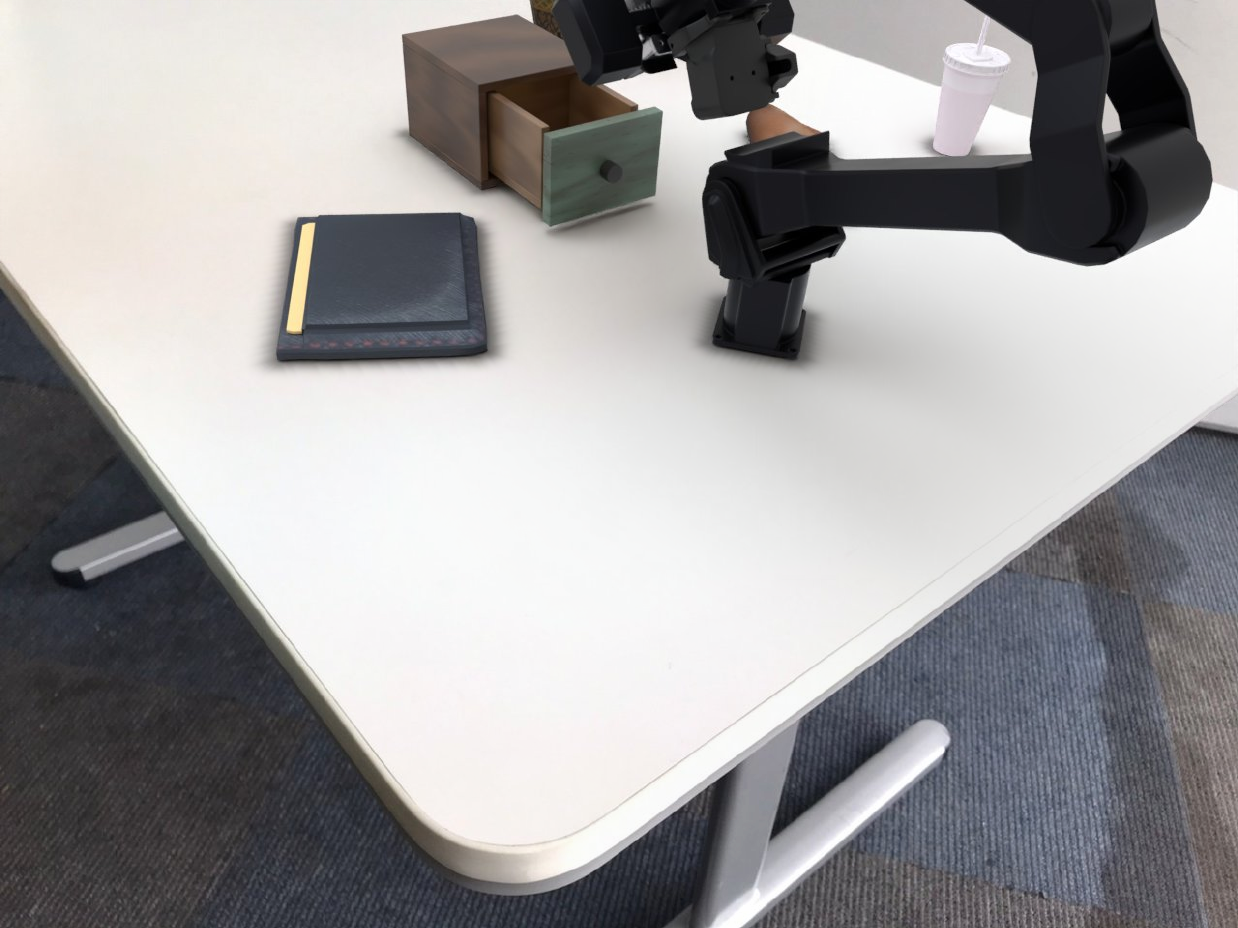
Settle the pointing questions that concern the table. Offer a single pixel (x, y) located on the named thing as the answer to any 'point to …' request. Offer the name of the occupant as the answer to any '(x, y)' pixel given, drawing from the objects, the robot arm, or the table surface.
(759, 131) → the brown rounded log
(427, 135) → the cabinet
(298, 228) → the wallet
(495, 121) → the drawer
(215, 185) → the table surface
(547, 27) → the ceramic cup
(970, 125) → the smoothie
